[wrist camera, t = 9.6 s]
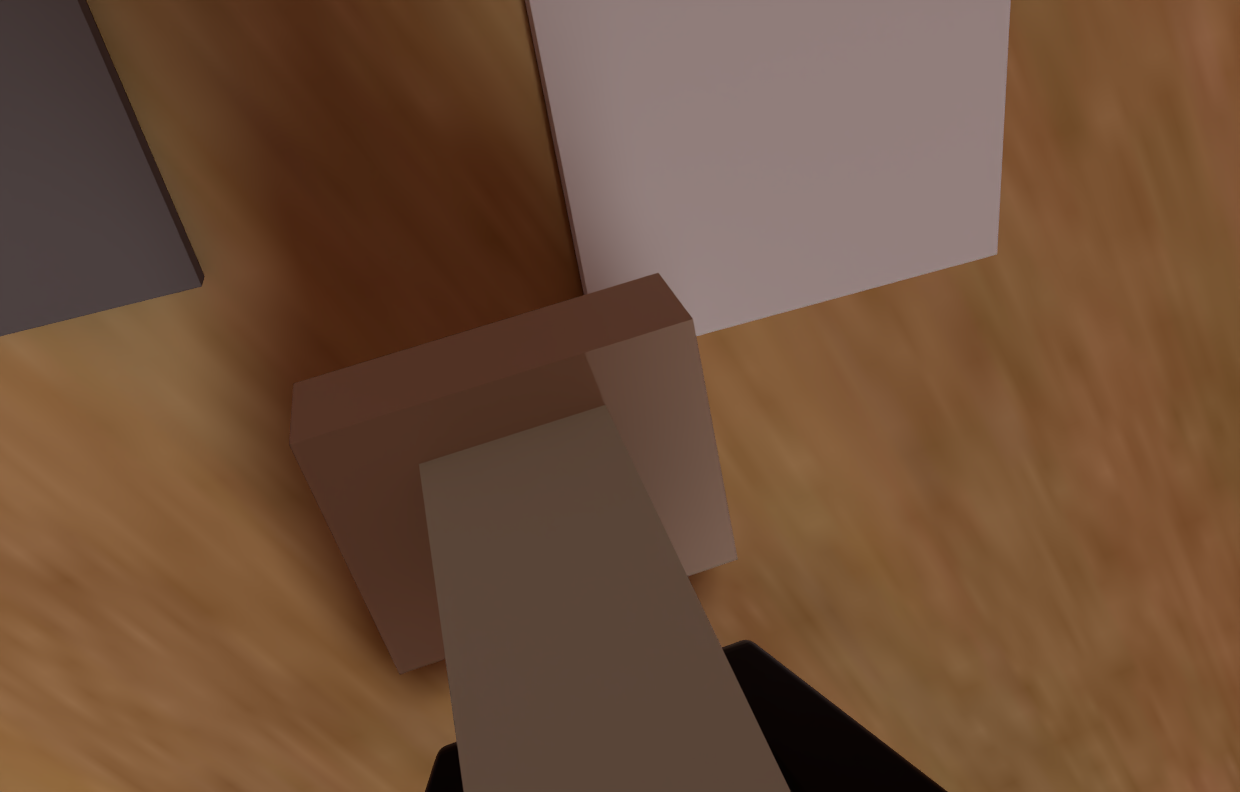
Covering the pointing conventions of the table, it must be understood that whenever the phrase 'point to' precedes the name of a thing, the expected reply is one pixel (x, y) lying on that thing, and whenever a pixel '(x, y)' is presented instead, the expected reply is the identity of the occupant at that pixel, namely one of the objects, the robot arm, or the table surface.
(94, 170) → the mat
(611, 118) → the pad
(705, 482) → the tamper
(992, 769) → the table surface
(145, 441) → the table surface
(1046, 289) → the table surface
